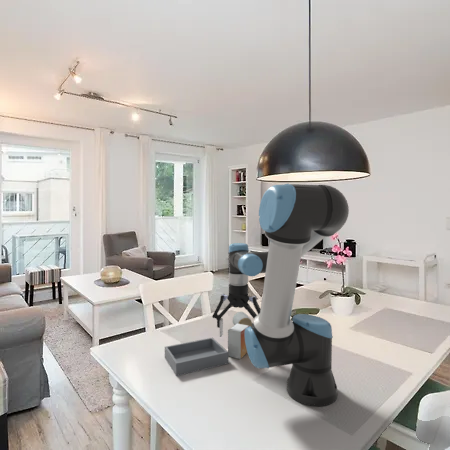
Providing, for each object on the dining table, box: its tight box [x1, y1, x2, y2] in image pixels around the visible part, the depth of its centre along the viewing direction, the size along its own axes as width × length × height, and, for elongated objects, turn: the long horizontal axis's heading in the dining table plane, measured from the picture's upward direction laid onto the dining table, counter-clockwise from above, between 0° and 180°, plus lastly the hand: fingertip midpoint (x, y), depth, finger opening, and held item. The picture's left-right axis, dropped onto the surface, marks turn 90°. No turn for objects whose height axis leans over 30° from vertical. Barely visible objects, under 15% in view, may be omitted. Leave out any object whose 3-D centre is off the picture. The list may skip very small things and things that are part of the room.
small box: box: [227, 324, 249, 360], centre depth 127 cm, size 8×6×10 cm
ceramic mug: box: [232, 311, 253, 327], centre depth 152 cm, size 11×8×8 cm
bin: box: [164, 337, 230, 376], centre depth 121 cm, size 15×20×4 cm
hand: (238, 336), depth 127 cm, fingers open, 13 cm apart
